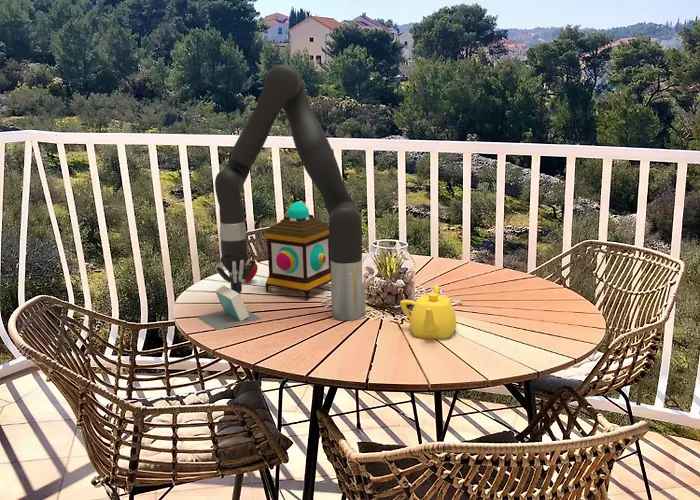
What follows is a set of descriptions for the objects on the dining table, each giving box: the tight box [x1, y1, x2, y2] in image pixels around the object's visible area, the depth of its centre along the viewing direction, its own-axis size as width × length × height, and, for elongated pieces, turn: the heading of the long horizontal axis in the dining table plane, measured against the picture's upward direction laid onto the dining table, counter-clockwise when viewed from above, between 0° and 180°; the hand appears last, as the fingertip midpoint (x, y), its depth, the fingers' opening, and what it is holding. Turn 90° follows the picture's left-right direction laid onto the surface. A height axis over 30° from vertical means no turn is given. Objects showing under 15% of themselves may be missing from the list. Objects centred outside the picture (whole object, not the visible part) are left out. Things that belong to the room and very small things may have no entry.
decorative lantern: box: [263, 201, 331, 301], centre depth 218 cm, size 20×20×30 cm
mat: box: [196, 309, 263, 331], centre depth 195 cm, size 14×14×1 cm
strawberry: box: [243, 263, 259, 284], centre depth 229 cm, size 6×8×10 cm
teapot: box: [399, 284, 457, 340], centre depth 182 cm, size 22×16×11 cm
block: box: [215, 285, 249, 321], centre depth 195 cm, size 3×10×8 cm, turn 37°
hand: (236, 293), depth 196 cm, fingers closed
